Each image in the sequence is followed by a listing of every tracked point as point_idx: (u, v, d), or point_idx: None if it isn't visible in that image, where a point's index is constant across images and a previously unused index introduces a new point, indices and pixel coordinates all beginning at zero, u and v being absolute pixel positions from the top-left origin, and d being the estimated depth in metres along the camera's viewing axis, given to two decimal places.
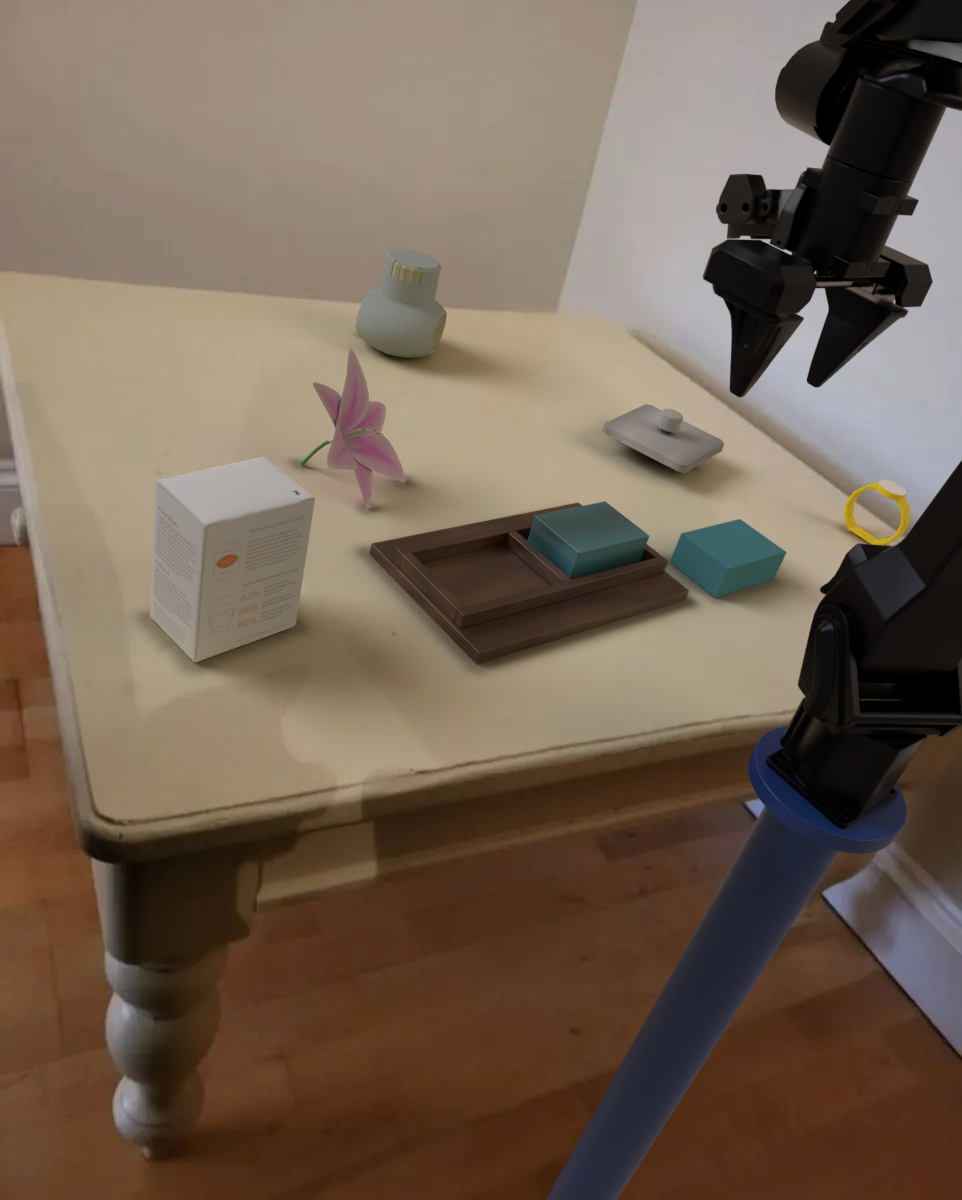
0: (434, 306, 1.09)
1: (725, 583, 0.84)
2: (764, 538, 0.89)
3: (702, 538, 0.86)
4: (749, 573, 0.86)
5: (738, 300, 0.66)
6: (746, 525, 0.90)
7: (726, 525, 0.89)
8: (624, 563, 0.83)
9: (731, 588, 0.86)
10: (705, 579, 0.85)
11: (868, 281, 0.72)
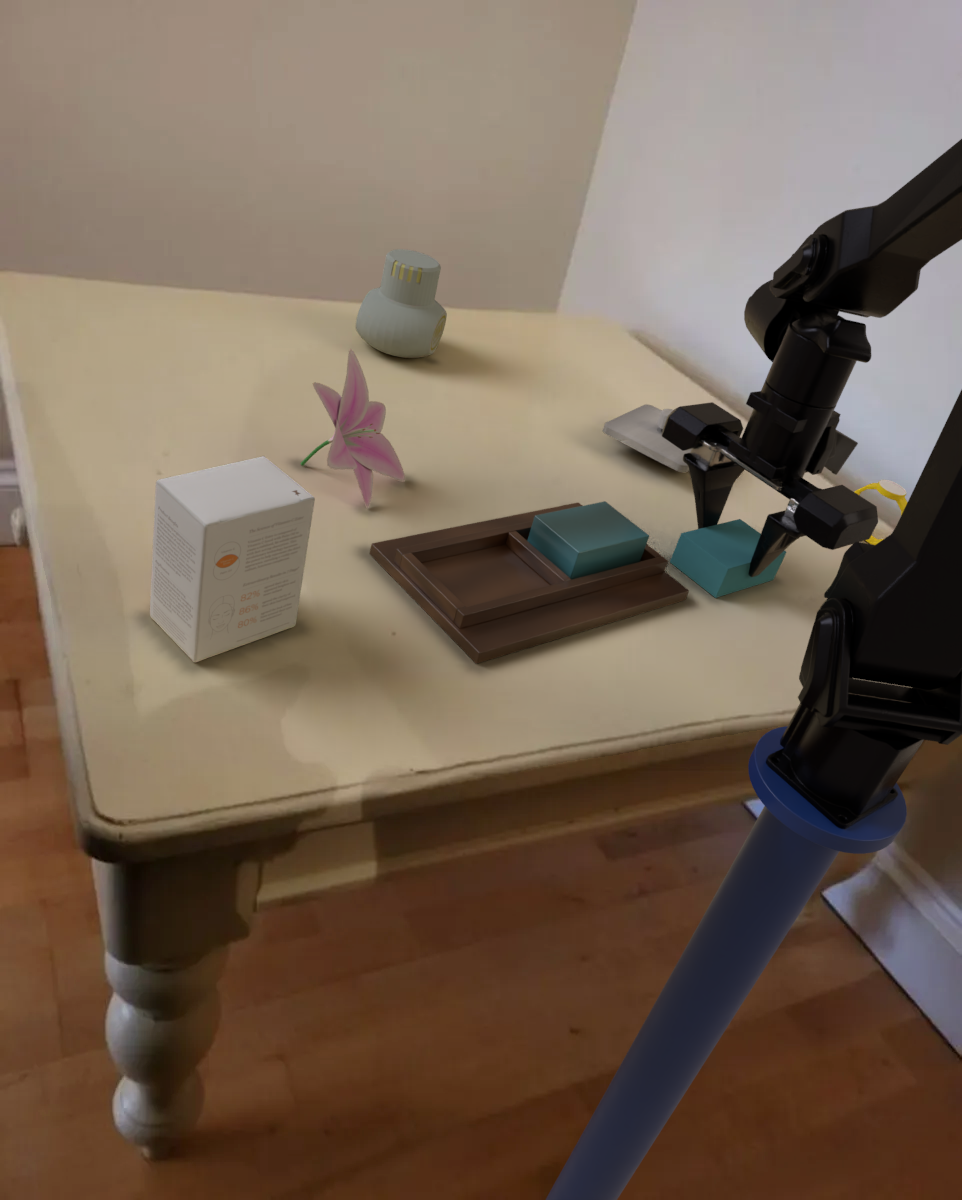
0: (434, 306, 1.09)
1: (724, 583, 0.84)
2: None
3: (702, 538, 0.86)
4: None
5: None
6: (746, 525, 0.90)
7: (726, 525, 0.89)
8: (624, 563, 0.83)
9: (731, 588, 0.86)
10: (705, 579, 0.85)
11: None
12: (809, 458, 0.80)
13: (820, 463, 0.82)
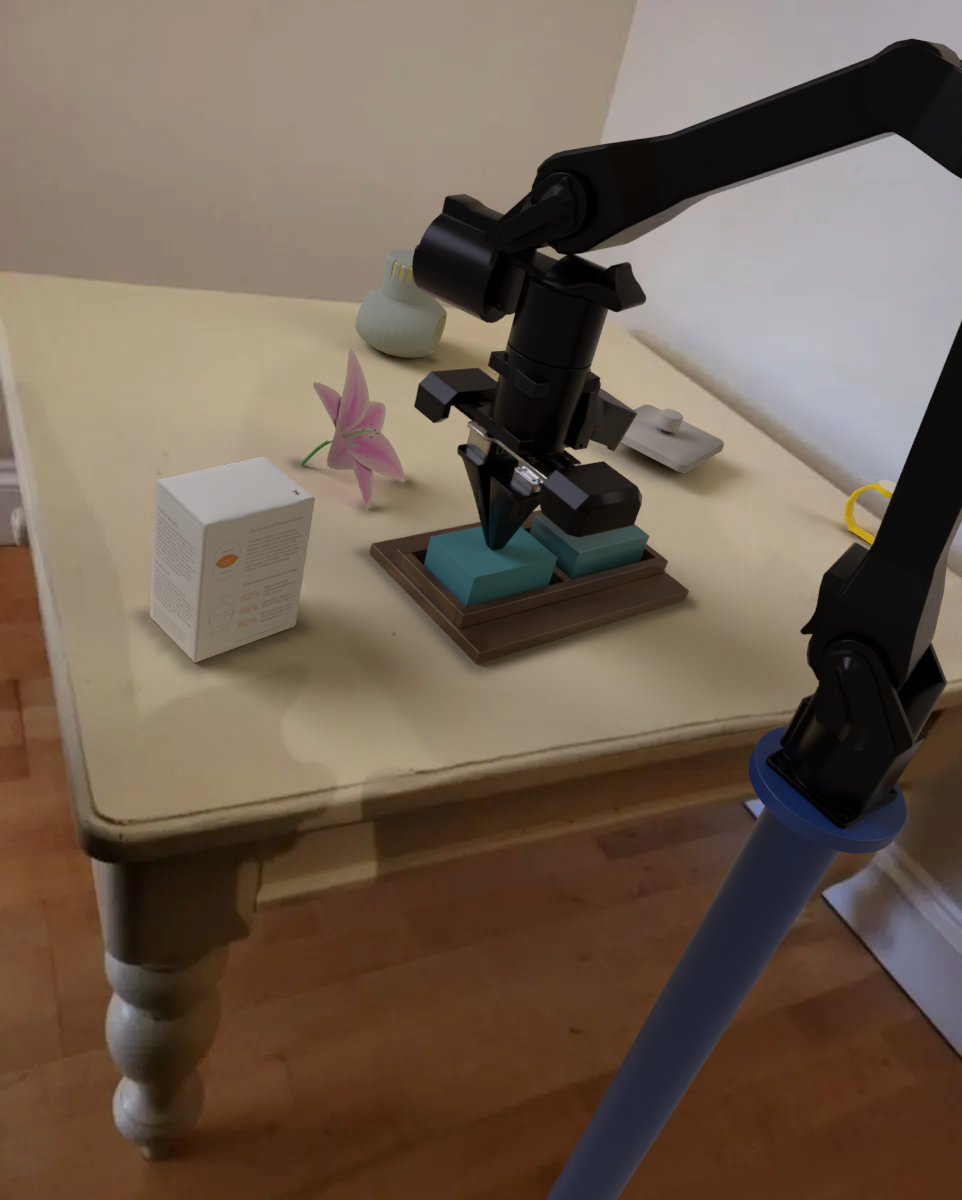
0: (434, 306, 1.09)
1: (474, 594, 0.73)
2: (535, 542, 0.78)
3: (455, 542, 0.75)
4: (508, 583, 0.75)
5: None
6: None
7: None
8: (624, 563, 0.83)
9: (485, 600, 0.74)
10: (454, 590, 0.74)
11: None
12: (564, 430, 0.68)
13: (582, 436, 0.69)
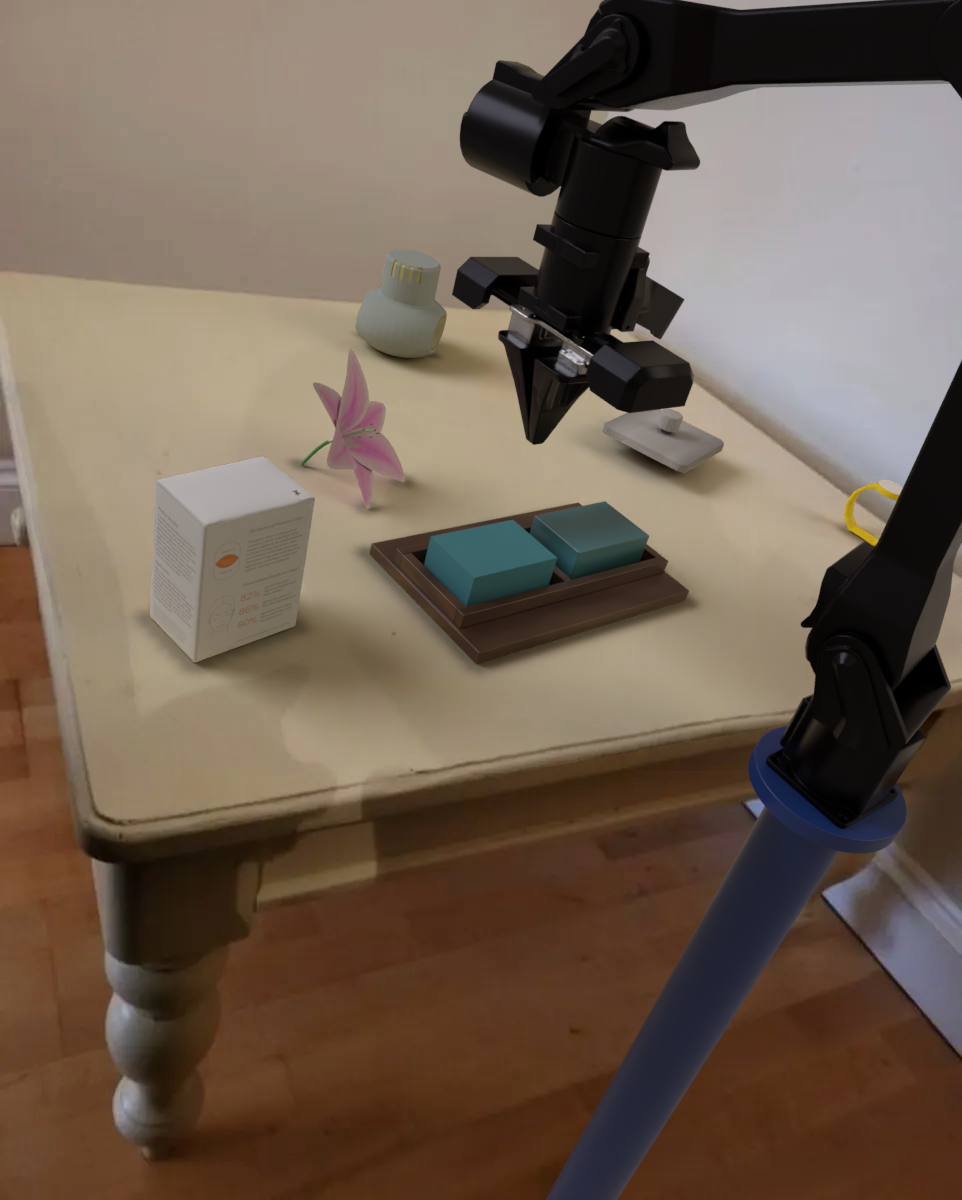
0: (434, 306, 1.09)
1: (474, 594, 0.73)
2: (535, 542, 0.78)
3: (455, 542, 0.75)
4: (508, 583, 0.75)
5: None
6: (518, 527, 0.79)
7: (492, 527, 0.78)
8: (624, 563, 0.83)
9: (485, 600, 0.74)
10: (454, 590, 0.74)
11: None
12: (612, 307, 0.65)
13: (629, 317, 0.67)
